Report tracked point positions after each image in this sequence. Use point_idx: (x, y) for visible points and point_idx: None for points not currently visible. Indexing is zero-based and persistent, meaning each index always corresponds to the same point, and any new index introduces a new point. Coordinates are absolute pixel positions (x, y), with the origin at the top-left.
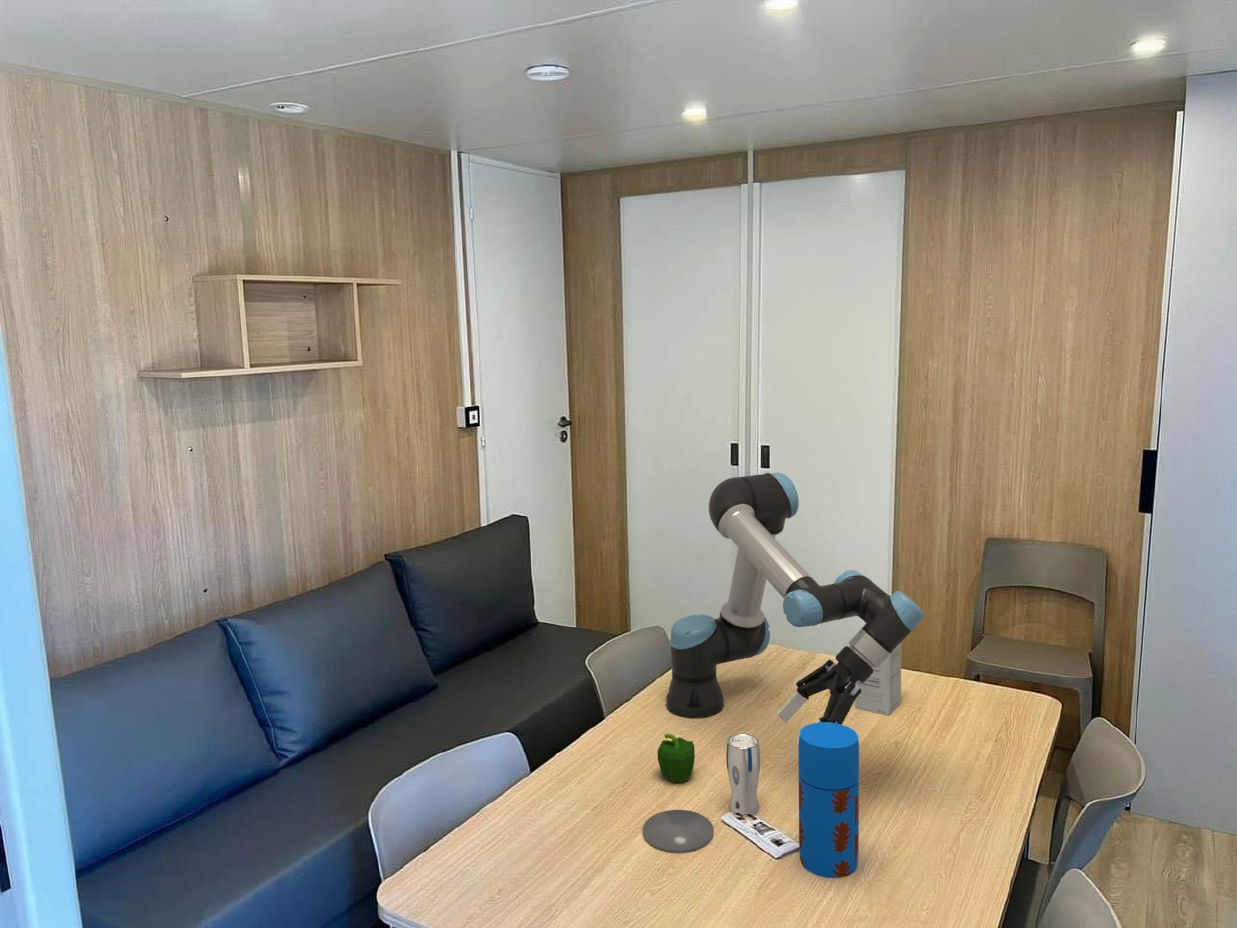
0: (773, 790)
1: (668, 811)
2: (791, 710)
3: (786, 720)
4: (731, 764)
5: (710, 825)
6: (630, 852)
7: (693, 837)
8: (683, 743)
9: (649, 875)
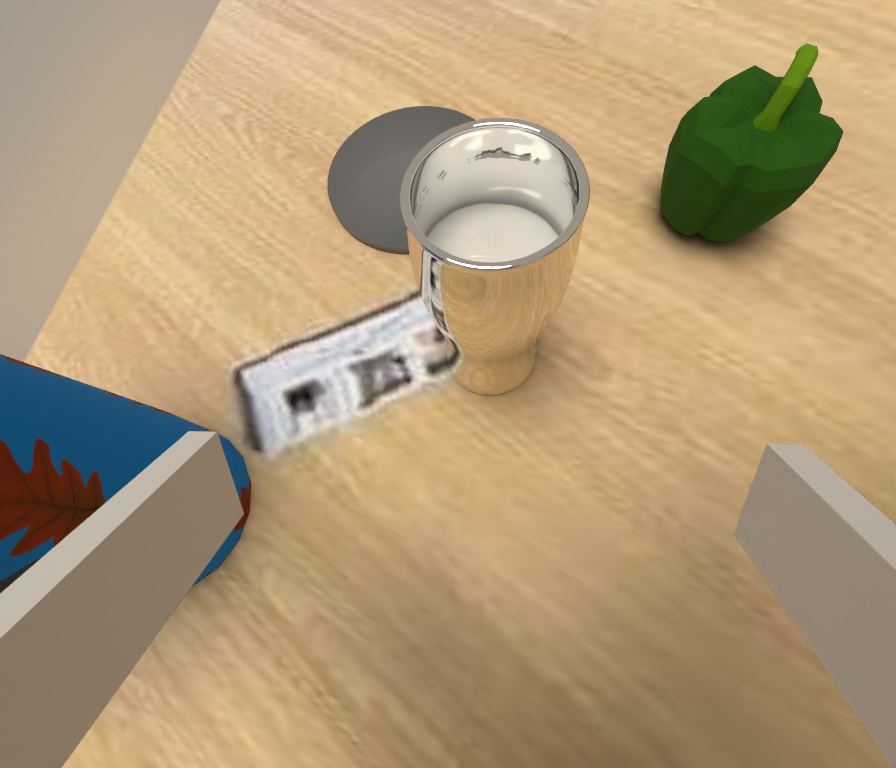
0: (586, 475)
1: None
2: (830, 608)
3: (748, 537)
4: (451, 202)
5: (406, 242)
6: (367, 91)
7: (366, 198)
8: (779, 135)
9: (279, 116)
